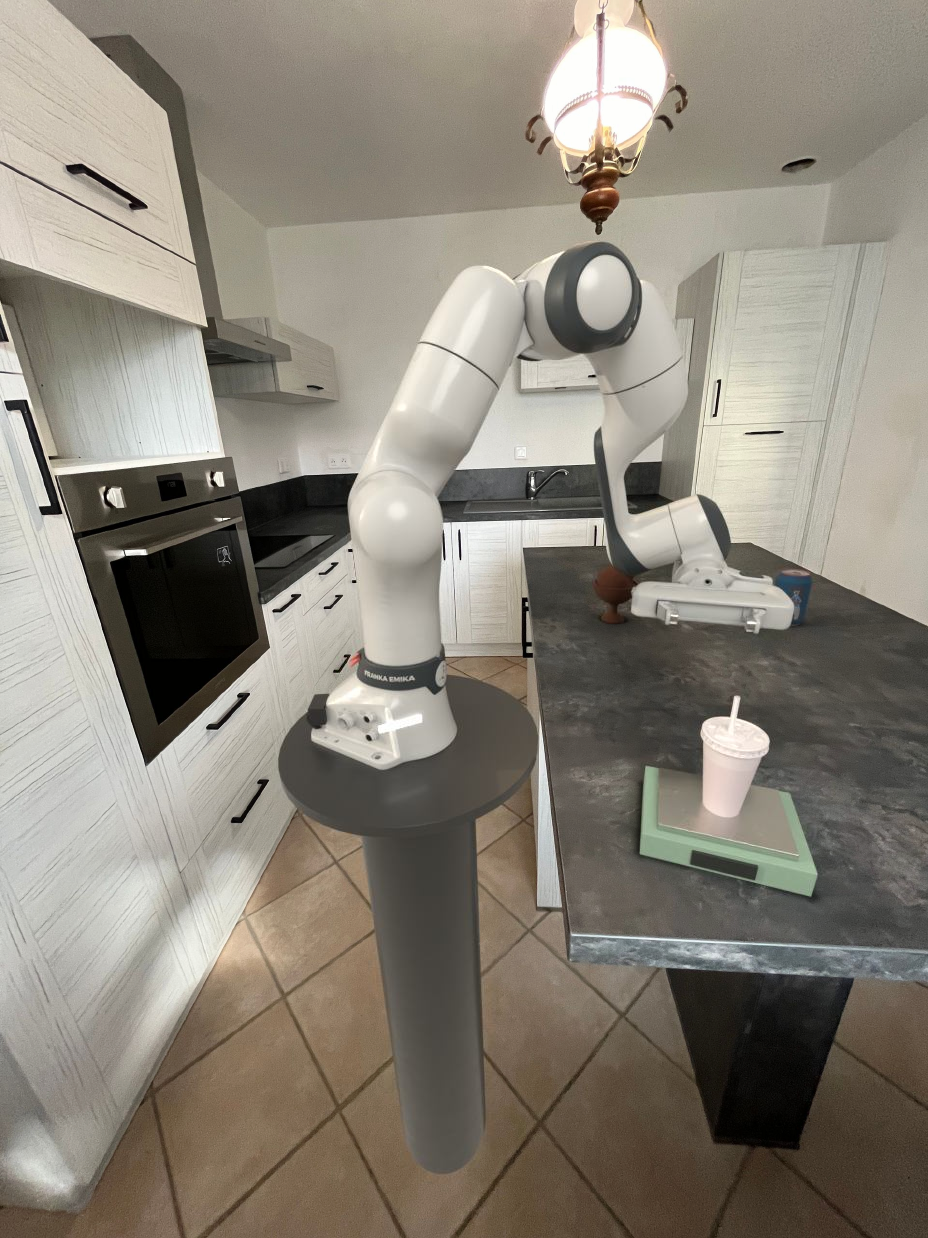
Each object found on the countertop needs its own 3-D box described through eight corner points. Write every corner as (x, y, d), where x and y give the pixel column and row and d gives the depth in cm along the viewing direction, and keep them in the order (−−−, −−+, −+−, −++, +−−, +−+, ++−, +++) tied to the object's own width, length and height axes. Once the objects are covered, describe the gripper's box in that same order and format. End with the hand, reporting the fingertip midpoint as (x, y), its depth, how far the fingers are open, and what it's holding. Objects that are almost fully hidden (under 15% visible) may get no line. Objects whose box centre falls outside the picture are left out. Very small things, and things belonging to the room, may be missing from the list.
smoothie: (677, 791, 57) (694, 685, 52) (726, 782, 58) (746, 678, 53) (714, 832, 51) (737, 717, 46) (767, 821, 52) (795, 708, 47)
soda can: (783, 614, 118) (794, 566, 113) (810, 624, 111) (822, 574, 107) (760, 618, 116) (770, 569, 112) (785, 628, 110) (797, 577, 105)
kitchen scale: (639, 856, 53) (642, 835, 52) (643, 784, 64) (645, 765, 63) (812, 900, 48) (819, 877, 47) (784, 812, 58) (789, 792, 57)
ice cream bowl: (610, 608, 126) (615, 551, 121) (646, 621, 117) (652, 560, 112) (580, 617, 121) (583, 558, 116) (615, 631, 112) (620, 567, 107)
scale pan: (657, 829, 53) (658, 824, 52) (658, 772, 61) (658, 767, 61) (797, 862, 48) (799, 855, 48) (777, 795, 57) (778, 789, 57)
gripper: (634, 567, 77) (628, 593, 65) (783, 577, 70) (808, 608, 58) (630, 605, 79) (624, 637, 67) (775, 618, 72) (797, 656, 60)
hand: (711, 623), depth 63 cm, fingers open, 8 cm apart
